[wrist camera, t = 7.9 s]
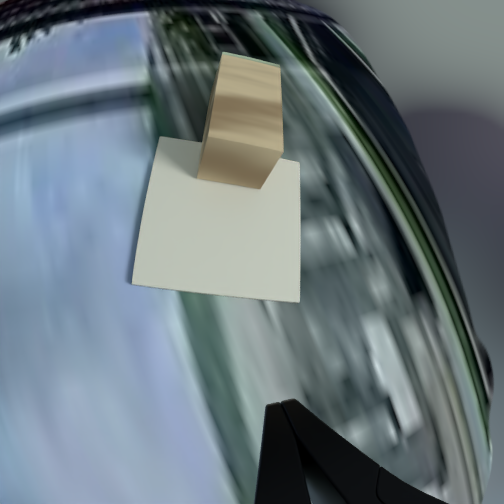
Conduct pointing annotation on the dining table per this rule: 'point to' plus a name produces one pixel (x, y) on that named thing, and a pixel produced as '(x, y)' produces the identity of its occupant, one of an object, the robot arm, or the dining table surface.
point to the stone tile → (219, 230)
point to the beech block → (242, 123)
